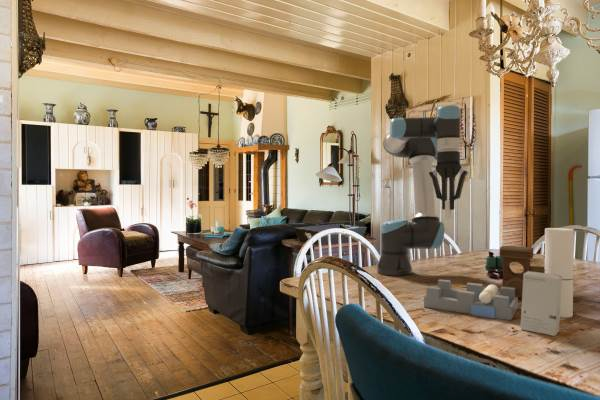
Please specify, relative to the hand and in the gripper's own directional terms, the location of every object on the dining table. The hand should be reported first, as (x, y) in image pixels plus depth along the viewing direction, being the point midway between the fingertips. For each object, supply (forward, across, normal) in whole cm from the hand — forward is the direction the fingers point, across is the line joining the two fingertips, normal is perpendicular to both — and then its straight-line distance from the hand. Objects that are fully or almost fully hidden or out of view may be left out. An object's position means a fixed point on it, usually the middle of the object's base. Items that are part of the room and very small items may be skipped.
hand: (448, 219), depth 145 cm
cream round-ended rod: (+23, +15, -12) cm, 30 cm away
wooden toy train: (+27, +25, +12) cm, 38 cm away
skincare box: (+27, +30, -24) cm, 47 cm away
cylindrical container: (+27, +33, -5) cm, 43 cm away
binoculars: (+27, +10, +39) cm, 48 cm away
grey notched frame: (+26, +10, -12) cm, 31 cm away
